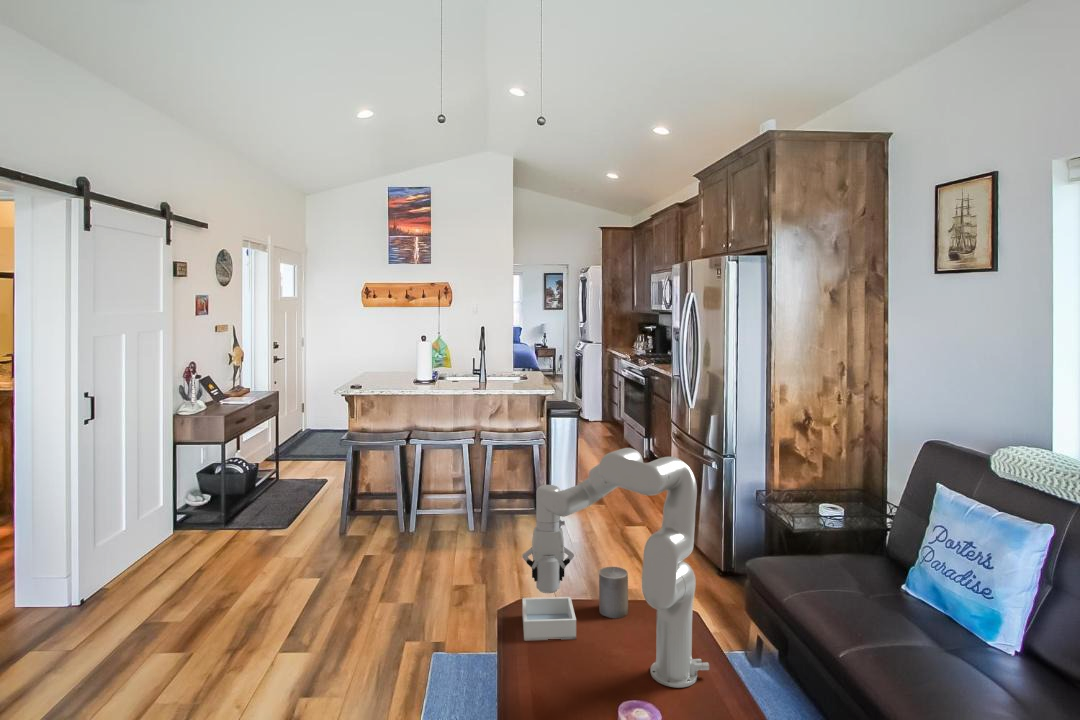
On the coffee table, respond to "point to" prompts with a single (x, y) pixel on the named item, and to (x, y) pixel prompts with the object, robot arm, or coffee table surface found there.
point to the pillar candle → (613, 592)
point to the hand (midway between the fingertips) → (548, 579)
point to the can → (548, 574)
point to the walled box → (548, 618)
